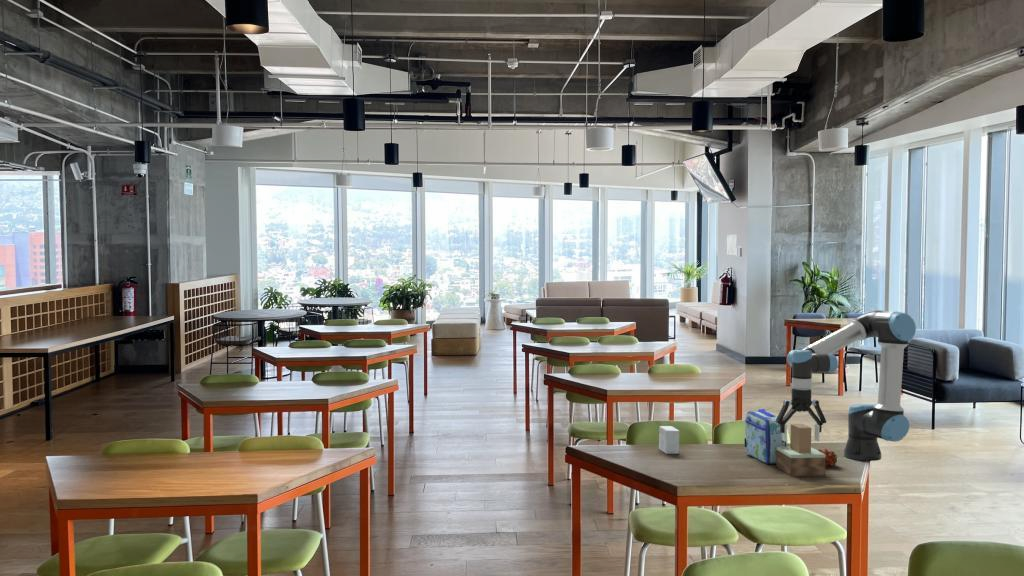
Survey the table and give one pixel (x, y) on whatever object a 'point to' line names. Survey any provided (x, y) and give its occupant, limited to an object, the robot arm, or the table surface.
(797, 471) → the box
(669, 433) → the skincare box
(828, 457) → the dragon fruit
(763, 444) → the lunch box
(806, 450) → the lid
